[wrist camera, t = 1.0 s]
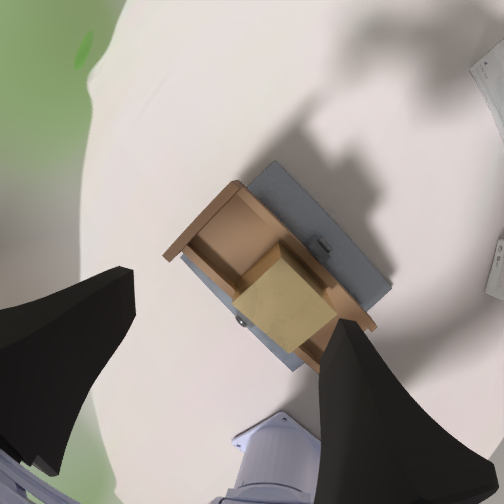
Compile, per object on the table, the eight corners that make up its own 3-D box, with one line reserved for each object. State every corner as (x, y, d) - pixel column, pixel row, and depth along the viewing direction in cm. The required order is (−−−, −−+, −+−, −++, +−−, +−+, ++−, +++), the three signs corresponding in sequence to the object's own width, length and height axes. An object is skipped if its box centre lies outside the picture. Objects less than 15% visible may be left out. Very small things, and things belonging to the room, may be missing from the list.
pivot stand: (391, 287, 24) (408, 303, 19) (292, 370, 26) (289, 398, 22) (275, 161, 24) (268, 149, 20) (181, 256, 27) (157, 265, 22)
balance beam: (365, 309, 24) (389, 345, 18) (313, 351, 25) (324, 395, 19) (240, 179, 22) (231, 181, 16) (186, 235, 23) (162, 255, 17)
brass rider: (325, 289, 21) (337, 314, 17) (285, 324, 22) (289, 353, 18) (278, 241, 20) (281, 257, 16) (237, 280, 21) (231, 303, 17)
